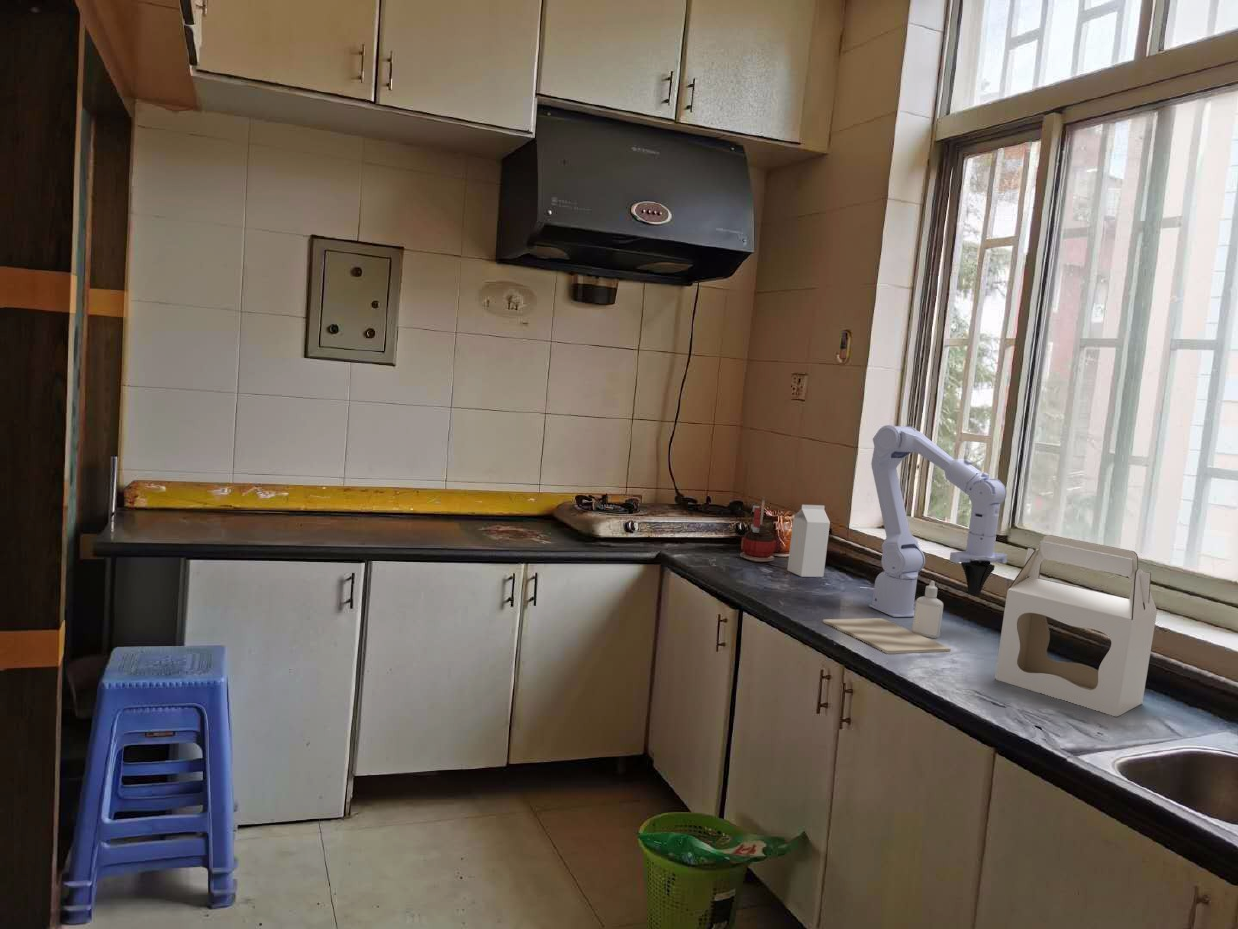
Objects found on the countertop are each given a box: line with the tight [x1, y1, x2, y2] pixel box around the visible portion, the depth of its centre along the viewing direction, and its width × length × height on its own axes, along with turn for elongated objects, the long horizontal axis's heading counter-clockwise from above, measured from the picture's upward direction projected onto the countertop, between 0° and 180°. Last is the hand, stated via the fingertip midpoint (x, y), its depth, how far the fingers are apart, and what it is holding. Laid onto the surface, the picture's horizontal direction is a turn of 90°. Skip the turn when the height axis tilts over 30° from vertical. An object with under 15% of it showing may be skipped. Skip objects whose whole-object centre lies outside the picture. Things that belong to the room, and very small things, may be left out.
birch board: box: [822, 617, 952, 655], centre depth 203 cm, size 22×16×1 cm
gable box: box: [994, 534, 1158, 718], centre depth 176 cm, size 22×13×28 cm, turn 44°
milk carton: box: [786, 504, 831, 578], centre depth 259 cm, size 7×7×19 cm
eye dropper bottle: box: [911, 580, 944, 639], centre depth 207 cm, size 4×6×12 cm
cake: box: [739, 497, 777, 563], centre depth 273 cm, size 11×9×18 cm
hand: (973, 594), depth 212 cm, fingers closed
